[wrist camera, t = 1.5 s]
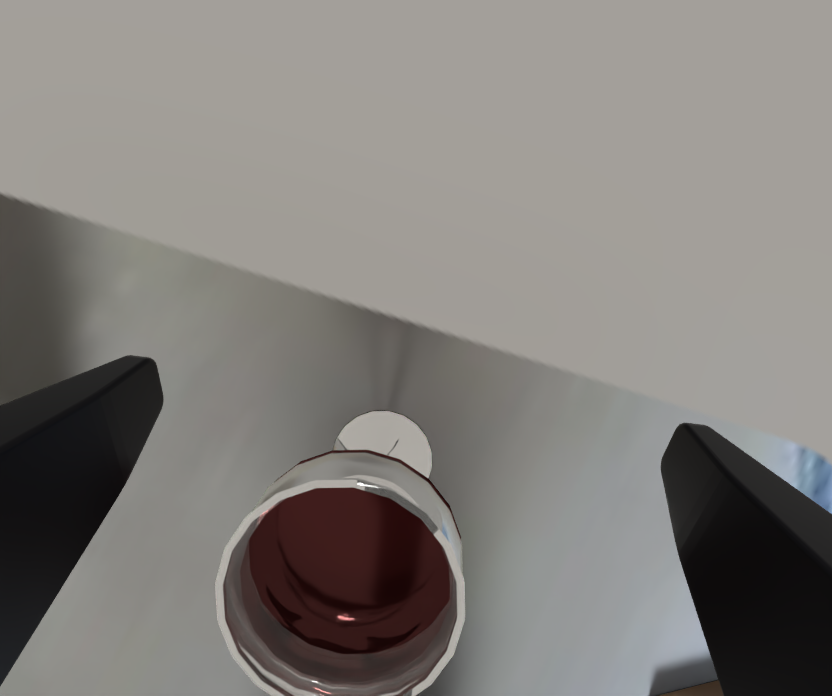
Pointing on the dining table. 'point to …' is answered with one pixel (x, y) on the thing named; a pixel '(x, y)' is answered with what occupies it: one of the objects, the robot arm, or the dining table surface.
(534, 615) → the dining table surface
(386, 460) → the wineglass
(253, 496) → the dining table surface
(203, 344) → the dining table surface
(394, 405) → the dining table surface
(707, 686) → the wooden board
